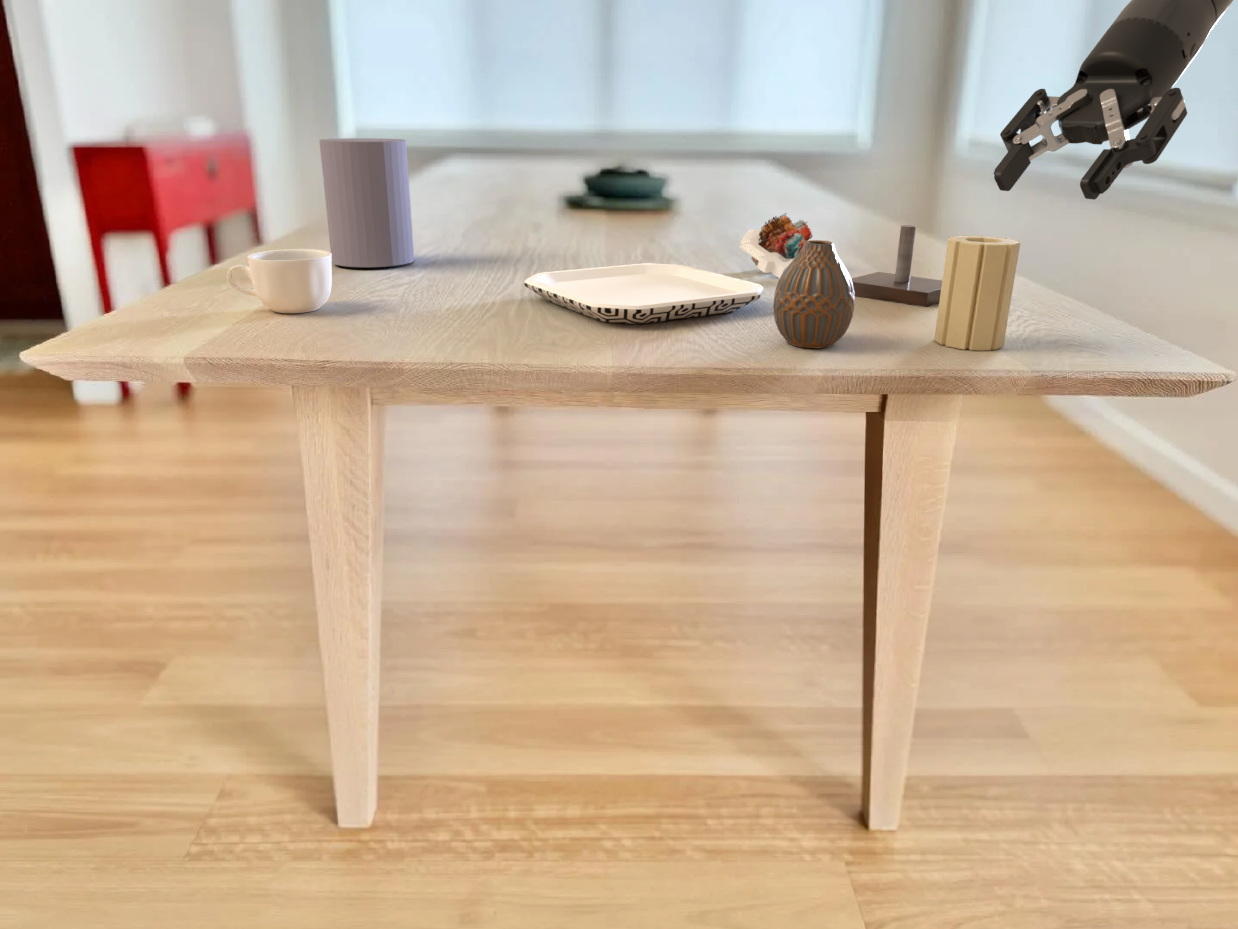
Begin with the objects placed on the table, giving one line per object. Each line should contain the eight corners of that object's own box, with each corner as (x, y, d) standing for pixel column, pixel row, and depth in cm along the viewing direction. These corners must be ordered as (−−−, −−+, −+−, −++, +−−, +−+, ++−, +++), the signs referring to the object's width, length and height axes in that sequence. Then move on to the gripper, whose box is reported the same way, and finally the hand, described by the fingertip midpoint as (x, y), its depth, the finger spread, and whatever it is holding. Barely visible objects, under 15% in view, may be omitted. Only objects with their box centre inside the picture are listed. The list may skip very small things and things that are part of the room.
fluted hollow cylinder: (1012, 342, 83) (1029, 240, 79) (985, 354, 79) (1003, 246, 76) (952, 332, 86) (966, 233, 83) (924, 342, 82) (938, 239, 79)
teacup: (339, 300, 97) (334, 247, 95) (334, 315, 90) (328, 259, 88) (238, 303, 95) (231, 250, 93) (225, 319, 88) (216, 262, 86)
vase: (855, 338, 84) (866, 239, 80) (843, 356, 78) (854, 250, 74) (780, 331, 86) (787, 234, 83) (762, 347, 80) (769, 244, 77)
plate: (782, 311, 94) (784, 289, 93) (608, 334, 84) (609, 310, 83) (667, 279, 110) (668, 260, 110) (510, 295, 100) (510, 274, 99)
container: (354, 272, 112) (342, 142, 107) (318, 262, 119) (305, 138, 114) (429, 264, 119) (421, 140, 113) (390, 254, 126) (381, 137, 120)
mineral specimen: (780, 243, 124) (794, 193, 120) (843, 283, 118) (860, 232, 113) (714, 258, 118) (726, 206, 114) (777, 301, 111) (792, 248, 107)
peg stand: (958, 296, 102) (969, 227, 100) (926, 306, 97) (935, 233, 94) (877, 284, 109) (884, 218, 106) (841, 293, 103) (848, 224, 100)
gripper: (1061, 20, 85) (959, 153, 84) (1220, 8, 74) (1105, 161, 73) (1085, 83, 90) (988, 210, 89) (1238, 81, 79) (1131, 226, 77)
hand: (1041, 188), depth 81 cm, fingers open, 8 cm apart
